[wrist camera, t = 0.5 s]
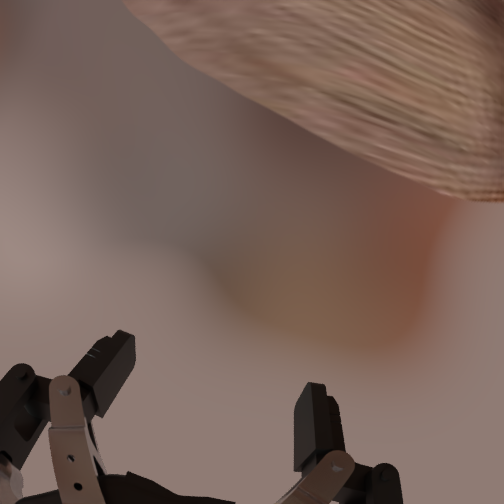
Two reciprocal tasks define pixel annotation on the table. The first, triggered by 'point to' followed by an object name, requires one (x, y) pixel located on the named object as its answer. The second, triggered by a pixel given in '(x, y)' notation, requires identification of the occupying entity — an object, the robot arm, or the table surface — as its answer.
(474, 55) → the table surface
